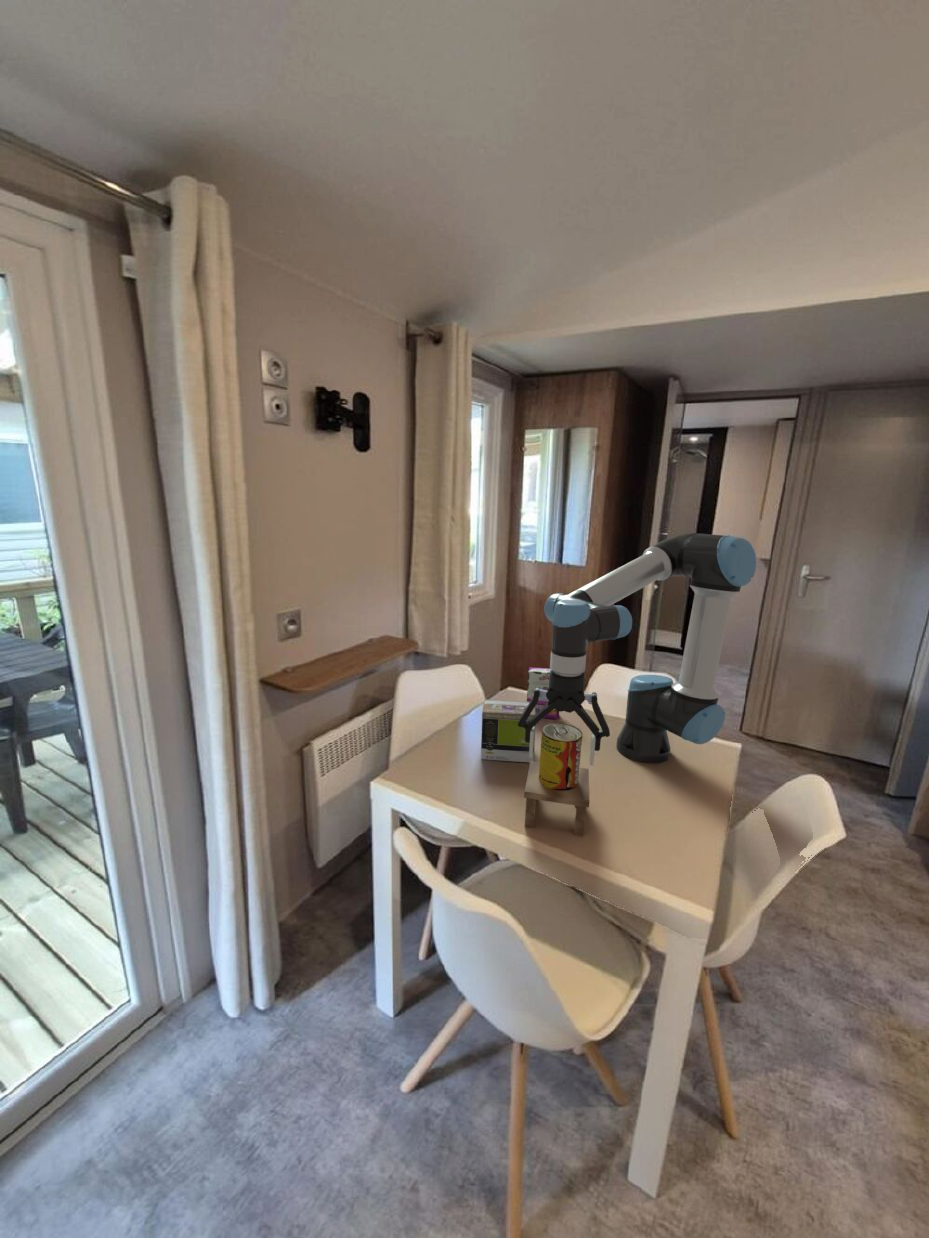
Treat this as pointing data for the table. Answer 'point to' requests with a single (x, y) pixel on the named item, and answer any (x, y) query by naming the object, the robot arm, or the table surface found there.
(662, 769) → the table surface
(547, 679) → the candy bar box
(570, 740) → the beverage can
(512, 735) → the tea box
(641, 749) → the robot arm
